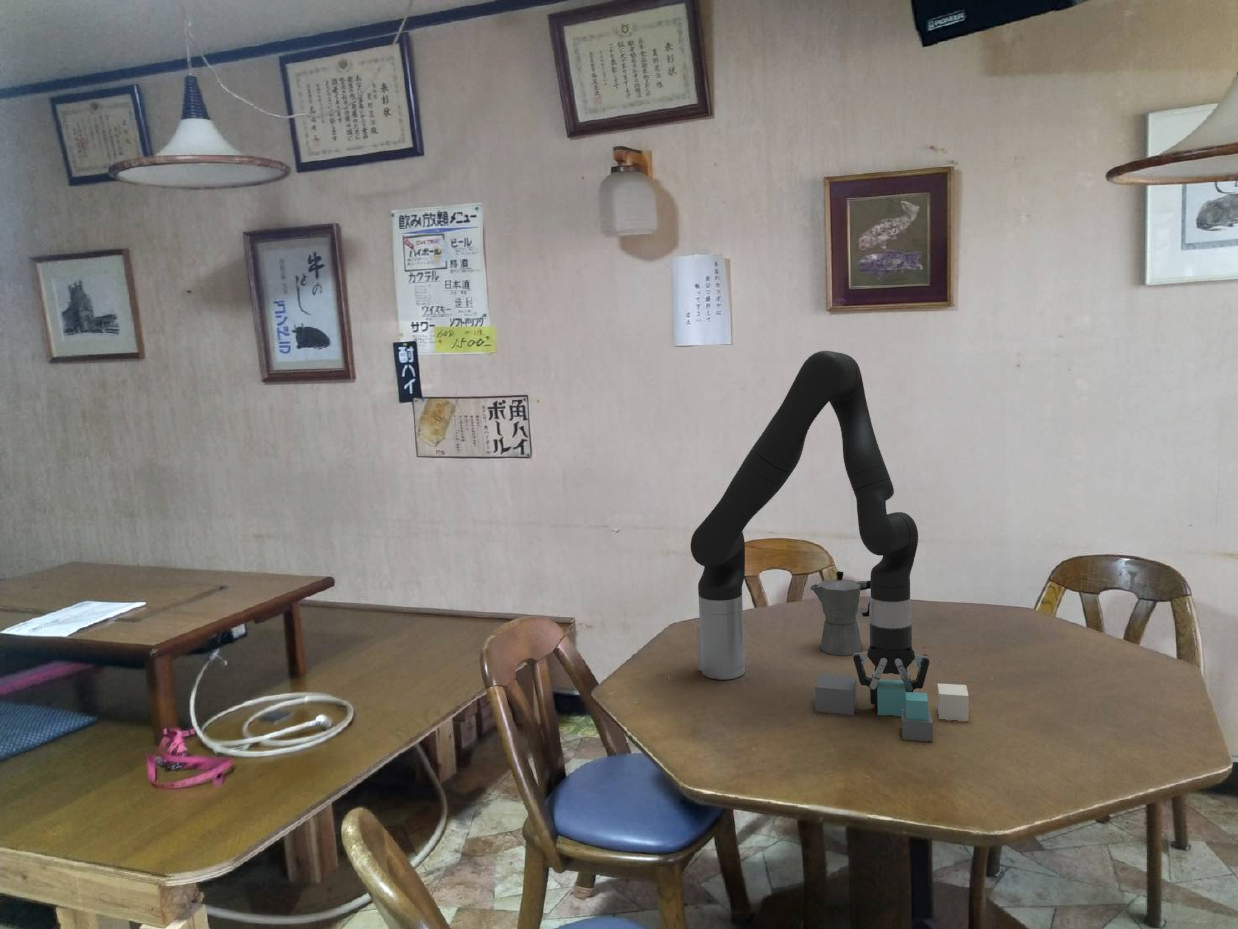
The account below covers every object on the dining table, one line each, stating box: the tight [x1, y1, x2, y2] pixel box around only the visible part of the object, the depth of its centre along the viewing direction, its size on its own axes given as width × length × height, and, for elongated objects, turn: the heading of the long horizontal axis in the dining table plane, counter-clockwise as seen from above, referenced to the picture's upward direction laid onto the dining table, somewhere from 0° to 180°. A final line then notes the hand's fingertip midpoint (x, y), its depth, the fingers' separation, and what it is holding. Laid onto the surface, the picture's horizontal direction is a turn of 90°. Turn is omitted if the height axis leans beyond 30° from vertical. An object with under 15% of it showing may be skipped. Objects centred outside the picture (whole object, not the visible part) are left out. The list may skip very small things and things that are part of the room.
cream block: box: [937, 683, 970, 722], centre depth 163 cm, size 5×5×5 cm
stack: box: [901, 691, 934, 742], centre depth 155 cm, size 5×5×7 cm
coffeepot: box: [809, 571, 871, 657], centre depth 198 cm, size 15×9×18 cm, turn 87°
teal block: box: [877, 678, 906, 717], centre depth 166 cm, size 5×5×5 cm
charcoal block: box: [814, 672, 858, 716], centre depth 169 cm, size 7×7×5 cm
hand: (891, 706), depth 166 cm, fingers closed on teal block, 5 cm apart
